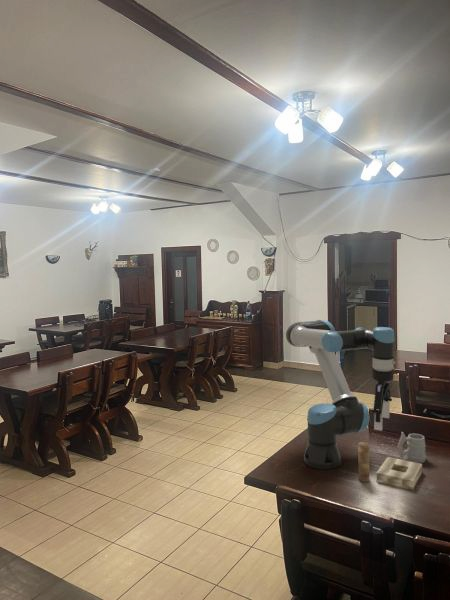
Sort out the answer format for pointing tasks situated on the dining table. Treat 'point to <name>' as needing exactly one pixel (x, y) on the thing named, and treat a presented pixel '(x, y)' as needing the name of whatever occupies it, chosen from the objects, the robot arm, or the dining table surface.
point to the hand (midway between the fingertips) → (382, 423)
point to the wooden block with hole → (399, 473)
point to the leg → (363, 462)
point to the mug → (413, 447)
